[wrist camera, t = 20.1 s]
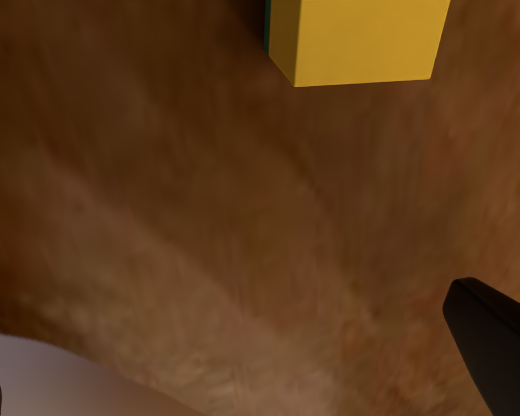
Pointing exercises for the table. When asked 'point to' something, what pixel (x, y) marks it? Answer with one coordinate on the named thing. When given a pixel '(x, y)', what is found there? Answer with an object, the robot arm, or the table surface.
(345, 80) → the sponge
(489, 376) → the robot arm
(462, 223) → the table surface
